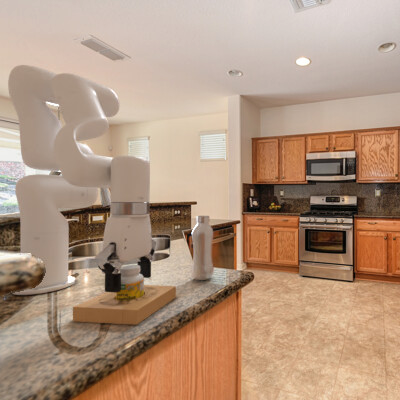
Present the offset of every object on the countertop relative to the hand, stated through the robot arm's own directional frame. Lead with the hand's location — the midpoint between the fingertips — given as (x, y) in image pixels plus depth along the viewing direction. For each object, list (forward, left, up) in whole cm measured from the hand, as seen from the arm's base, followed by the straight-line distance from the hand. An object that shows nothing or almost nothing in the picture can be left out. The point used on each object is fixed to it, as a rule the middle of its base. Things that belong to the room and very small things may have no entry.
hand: (129, 283), depth 59 cm
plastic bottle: (+7, +22, -6) cm, 24 cm away
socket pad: (0, 0, -6) cm, 6 cm away
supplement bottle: (0, 0, -6) cm, 6 cm away
